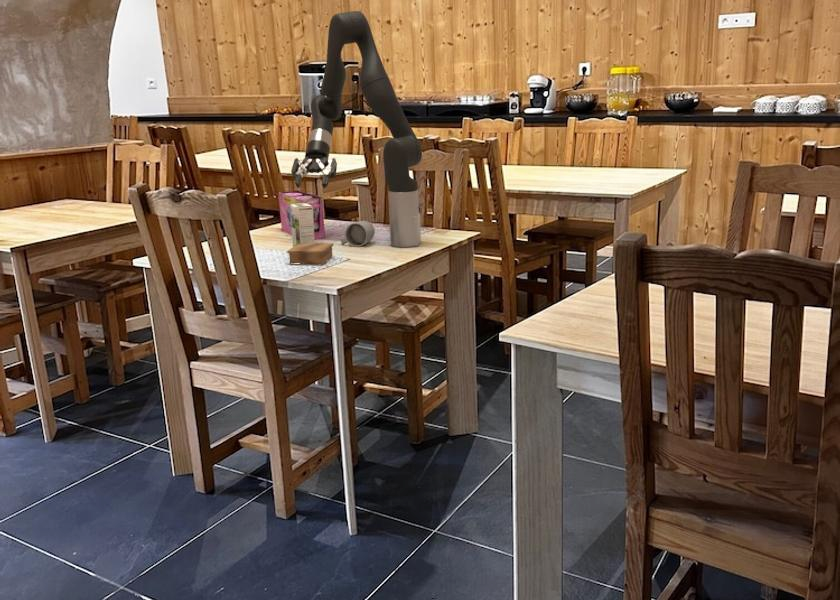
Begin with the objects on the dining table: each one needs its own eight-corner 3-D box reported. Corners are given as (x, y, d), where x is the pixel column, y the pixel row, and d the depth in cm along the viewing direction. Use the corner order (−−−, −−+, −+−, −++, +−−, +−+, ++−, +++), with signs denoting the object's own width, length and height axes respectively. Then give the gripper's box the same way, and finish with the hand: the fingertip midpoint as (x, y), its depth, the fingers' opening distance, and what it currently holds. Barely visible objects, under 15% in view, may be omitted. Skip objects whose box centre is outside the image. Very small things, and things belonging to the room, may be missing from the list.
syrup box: (292, 250, 244) (289, 204, 240) (310, 248, 247) (307, 202, 243) (297, 253, 239) (294, 206, 235) (316, 251, 242) (313, 205, 238)
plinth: (334, 256, 235) (333, 243, 234) (324, 264, 225) (323, 251, 224) (299, 255, 237) (298, 242, 236) (288, 264, 227) (287, 251, 225)
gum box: (327, 239, 260) (325, 198, 256) (305, 242, 256) (302, 200, 252) (301, 227, 280) (299, 189, 276) (280, 230, 276) (277, 192, 273)
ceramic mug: (376, 241, 253) (375, 218, 251) (367, 247, 245) (366, 223, 243) (346, 241, 256) (344, 218, 254) (336, 246, 249) (334, 222, 246)
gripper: (294, 139, 254) (286, 179, 247) (337, 138, 252) (329, 179, 244) (300, 153, 261) (292, 193, 253) (342, 153, 259) (335, 193, 251)
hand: (310, 186), depth 249 cm, fingers open, 8 cm apart
